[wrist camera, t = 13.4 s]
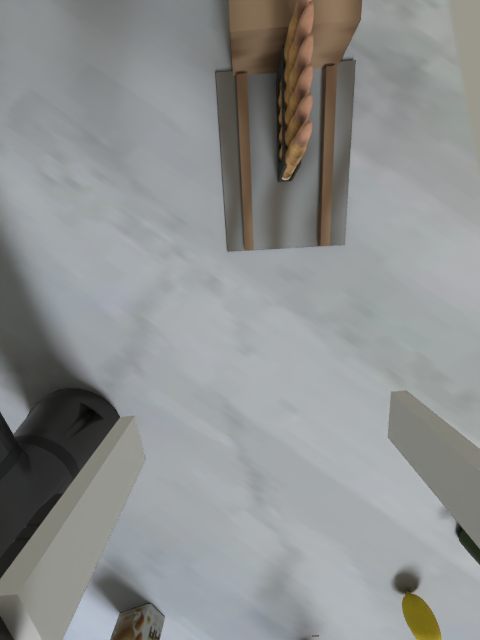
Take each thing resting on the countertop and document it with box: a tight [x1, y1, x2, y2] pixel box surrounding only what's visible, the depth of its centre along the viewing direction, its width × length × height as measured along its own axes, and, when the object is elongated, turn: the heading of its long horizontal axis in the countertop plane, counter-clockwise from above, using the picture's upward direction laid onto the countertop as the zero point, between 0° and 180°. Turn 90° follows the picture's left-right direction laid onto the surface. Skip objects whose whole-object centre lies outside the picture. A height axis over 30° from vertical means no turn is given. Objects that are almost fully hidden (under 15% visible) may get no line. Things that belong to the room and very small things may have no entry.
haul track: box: [216, 0, 362, 252], centre depth 27 cm, size 16×24×6 cm
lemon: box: [402, 591, 441, 640], centre depth 47 cm, size 6×6×8 cm
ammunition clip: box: [276, 0, 314, 182], centre depth 23 cm, size 11×2×12 cm, turn 4°
